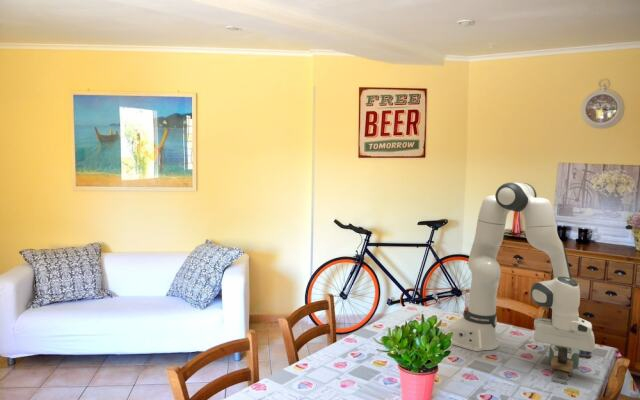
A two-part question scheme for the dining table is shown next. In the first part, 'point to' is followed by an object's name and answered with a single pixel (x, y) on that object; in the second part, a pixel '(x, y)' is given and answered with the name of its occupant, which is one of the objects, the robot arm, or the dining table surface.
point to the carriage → (562, 361)
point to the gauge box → (574, 358)
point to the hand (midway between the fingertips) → (562, 357)
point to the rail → (560, 376)
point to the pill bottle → (584, 354)
